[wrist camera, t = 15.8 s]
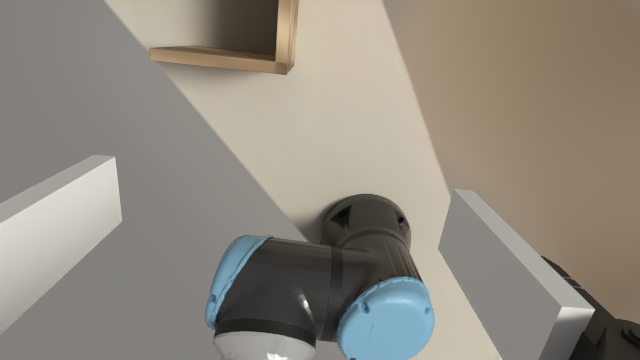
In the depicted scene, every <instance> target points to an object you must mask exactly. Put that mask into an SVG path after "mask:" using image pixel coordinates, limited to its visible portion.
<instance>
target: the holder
mask: <svg viewBox="0 0 640 360" xmlns="http://www.w3.org/2000/svg"><path fill="white" fill-rule="evenodd" d="M298 2H299V0H279V7H278V24H277V42H276V55H272V54H263V53H254V52H245V51H236V50H227V49H218V48H209V47H200V46H178V47H159V48H150V58H151V60H154V61H163V62H172V63H182V64H191V65H200V66H209V67H218V68H227V69H236V70H246V71H255V72H264V73H273V74H282V75H286V74H287V73H288V72H289V71H290V70H291V68H292V67H293V66H294V55H295V42H296V28H297V15H298Z"/></svg>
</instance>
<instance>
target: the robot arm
mask: <svg viewBox="0 0 640 360" xmlns="http://www.w3.org/2000/svg"><path fill="white" fill-rule="evenodd" d="M121 221H122V216H121V206H120V197H119V188H118V179H117V170H116V162H115V157H113V156H102V155H93V156H91V157H89V158H87V159H85V160H83V161H81V162H79V163H77V164H75V165H73V166H72V167H70V168H68V169H66V170H64V171H62V172H60V173H58V174H56V175H54V176H52V177H50V178H48V179H47V180H44V181H43V182H41V183H39V184H37V185H35V186H33V187H31V188H29V189H27V190H25V191H23V192H21V193H20V194H18V195H16V196H14V197H12V198H10V199H8V200H6V201H4V202H2V203H0V335H1V334H2V333H3V332H4V331H5V330H6V329H7V328H8V327H9V326H10V325H12V323H14V322H15V321H16V320H17V319H18V318H19V317H20V316H21V315H22V314H23V313H24V312H25V311H26V310H28V308H30V307H31V306H32V305H33V304H34V303H35V302H36V301H37V300H38V299H39V298H40V297H41V296H43V295H44V294H45V293H46V292H47V291H48V290H49V289H50V288H51V287H52V286H53V285H54V284H55V283H56V282H57V281H59V280H60V279H61V278H62V277H63V276H64V275H65V274H66V273H67V272H68V271H69V270H70V269H71V268H73V267H74V266H75V265H76V264H77V263H78V262H79V261H80V260H81V259H82V258H83V257H84V256H85V255H86V254H87V253H88V252H90V251H91V250H92V249H93V248H94V247H95V246H96V245H97V244H98V243H99V242H100V241H101V240H102V239H103V238H105V236H107V235H108V234H109V233H110V232H111V231H112V230H113V229H114V228H115V227H116V226H117V225H118V224H119V223H121ZM410 245H411V231H410V226H409V223H408V221H407V219H406V217H405V215H404V213H403V212H402V210H401V209H400V208H399V207H398V206H397V205H396V204H395V203H393V202H392V201H390V200H389V199H387V198H384V197H381V196H378V195H372V194H362V195H356V196H352V197H349V198H346V199H344V200H342V201H341V202H339V203H338V204H336V205H335V206H334V207H333V208H332V209H331V210H330V211H329V212H328V214H327V215H326V217H325V219H324V221H323V223H322V227H321V244H316V243H309V242H302V241H294V240H287V239H280V238H274V237H273V236H266V237H261V236H250V235H245V236H241V237H239V238H237V239H235V240H234V241H233V242H232V243H231V244H230V246H229V247H228V248H227V250H226V252H225V254H224V256H223V257H222V259H221V262H220V264H219V266H218V269H217V271H216V274H215V277H214V279H213V283H212V286H211V289H210V293H211V295H210V296H209V299H208V302H207V305H206V313H205V321H206V324H207V325H208V327H210V328H211V329H212V330H216V331H215V335H214V339H213V345H214V347H215V348H216V350H217V352H218V353H219V355H220V356H221V359H222V360H310V359H312V358H313V357H314V355H315V346H316V340H321V341H330V342H337V343H338V345H339V348H340V350H341V352H342V353H343V355H344V356H345V358H347V359H350V360H408V359H409V358H411V357H413V356H415V355H417V354H418V353H419V352H420V351H421V350H422V349H423V348H424V346H425V345H426V344H427V342H428V341H429V339H430V337H431V335H432V332H433V329H434V323H435V316H434V310H433V307H432V304H431V301H430V297H429V292H428V290H427V288H426V286H425V285H424V284H423V281H422V279H421V277H420V275H419V272H418V270H417V268H416V266H415V263H414V261H413V259H412V257H411V255H410ZM438 249H439V251H440V253H441V254H442V256H443V258H444V260H445V261H446V263H447V265H448V266H449V268H450V270H451V272H452V273H453V275H454V277H455V278H456V280H457V282H458V284H459V285H460V287H461V289H462V291H463V292H464V294H465V296H466V297H467V299H468V301H469V303H470V304H471V306H472V308H473V309H474V311H475V313H476V315H477V316H478V318H479V320H480V321H481V323H482V325H483V327H484V328H485V330H486V332H487V333H488V335H489V337H490V339H491V340H492V342H493V344H494V345H495V347H496V349H497V351H498V352H499V354H500V356H501V357H502V359H503V360H640V324H637V323H634V322H631V321H627V320H622V319H615V318H614V317H613V316H612V315H611V314H610V313H609V312H608V311H607V310H606V309H604V308H603V307H602V306H601V305H600V304H599V303H598V302H597V301H596V300H595V299H594V298H593V297H592V296H591V295H589V294H588V293H587V292H586V291H585V290H584V289H581V286H580V285H579V284H578V283H577V282H576V281H574V280H571V277H570V276H569V275H568V274H567V273H566V272H565V271H564V270H563V269H562V268H560V266H558V265H556V264H554V263H553V262H552V261H550V260H548V259H547V258H545V257H543V256H540V255H538V254H537V253H536V252H535V251H534V250H533V249H532V248H531V247H530V246H529V245H528V244H527V243H526V242H525V241H524V240H523V239H522V238H521V237H520V236H519V235H518V234H517V233H516V232H515V231H514V230H513V229H512V228H511V227H509V225H507V224H506V223H505V222H504V221H503V220H502V219H501V218H500V217H499V216H498V215H497V214H496V213H495V212H494V211H493V210H492V209H491V208H490V207H489V206H488V205H487V204H486V203H485V202H484V201H483V200H482V199H481V198H480V197H478V195H476V194H475V193H474V192H473V191H468V190H458V189H454V191H453V194H452V198H451V202H450V206H449V209H448V213H447V217H446V221H445V224H444V228H443V232H442V236H441V239H440V243H439V247H438Z"/></svg>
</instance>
